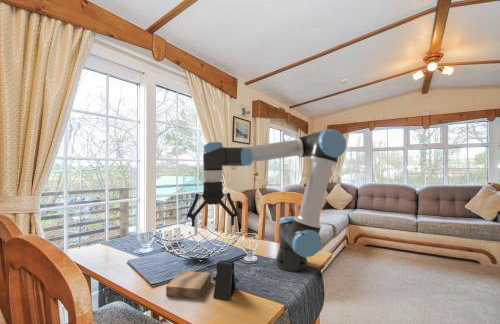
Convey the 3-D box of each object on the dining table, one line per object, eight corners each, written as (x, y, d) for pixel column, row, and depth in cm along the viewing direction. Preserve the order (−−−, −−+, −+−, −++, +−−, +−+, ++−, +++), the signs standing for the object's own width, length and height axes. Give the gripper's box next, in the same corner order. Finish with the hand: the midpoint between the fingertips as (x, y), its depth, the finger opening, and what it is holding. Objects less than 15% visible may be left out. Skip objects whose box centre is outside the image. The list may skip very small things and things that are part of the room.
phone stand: (222, 286, 100) (222, 256, 100) (236, 288, 98) (237, 258, 98) (213, 298, 91) (213, 265, 91) (228, 300, 89) (228, 267, 89)
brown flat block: (210, 281, 104) (210, 272, 104) (200, 298, 91) (200, 288, 91) (180, 279, 106) (180, 270, 106) (166, 295, 93) (166, 286, 93)
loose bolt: (232, 276, 108) (232, 267, 108) (230, 280, 104) (230, 271, 104) (214, 275, 109) (214, 266, 109) (211, 279, 105) (211, 270, 105)
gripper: (243, 179, 105) (243, 230, 105) (182, 180, 102) (183, 232, 103) (244, 181, 97) (244, 235, 97) (179, 182, 95) (179, 237, 95)
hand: (213, 234), depth 100 cm, fingers open, 13 cm apart
